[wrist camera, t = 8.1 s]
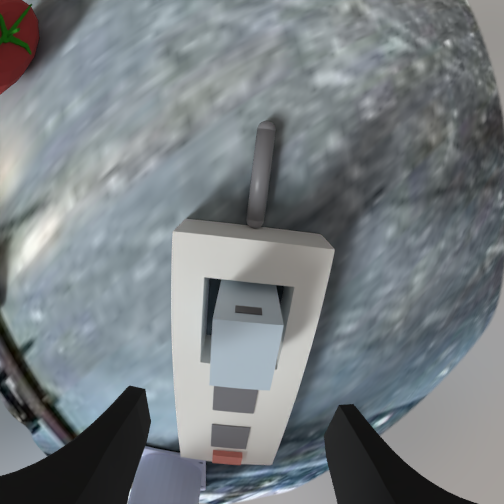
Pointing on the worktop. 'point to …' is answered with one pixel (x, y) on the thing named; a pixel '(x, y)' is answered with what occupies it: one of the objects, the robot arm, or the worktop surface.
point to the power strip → (199, 344)
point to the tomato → (16, 40)
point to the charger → (245, 335)
